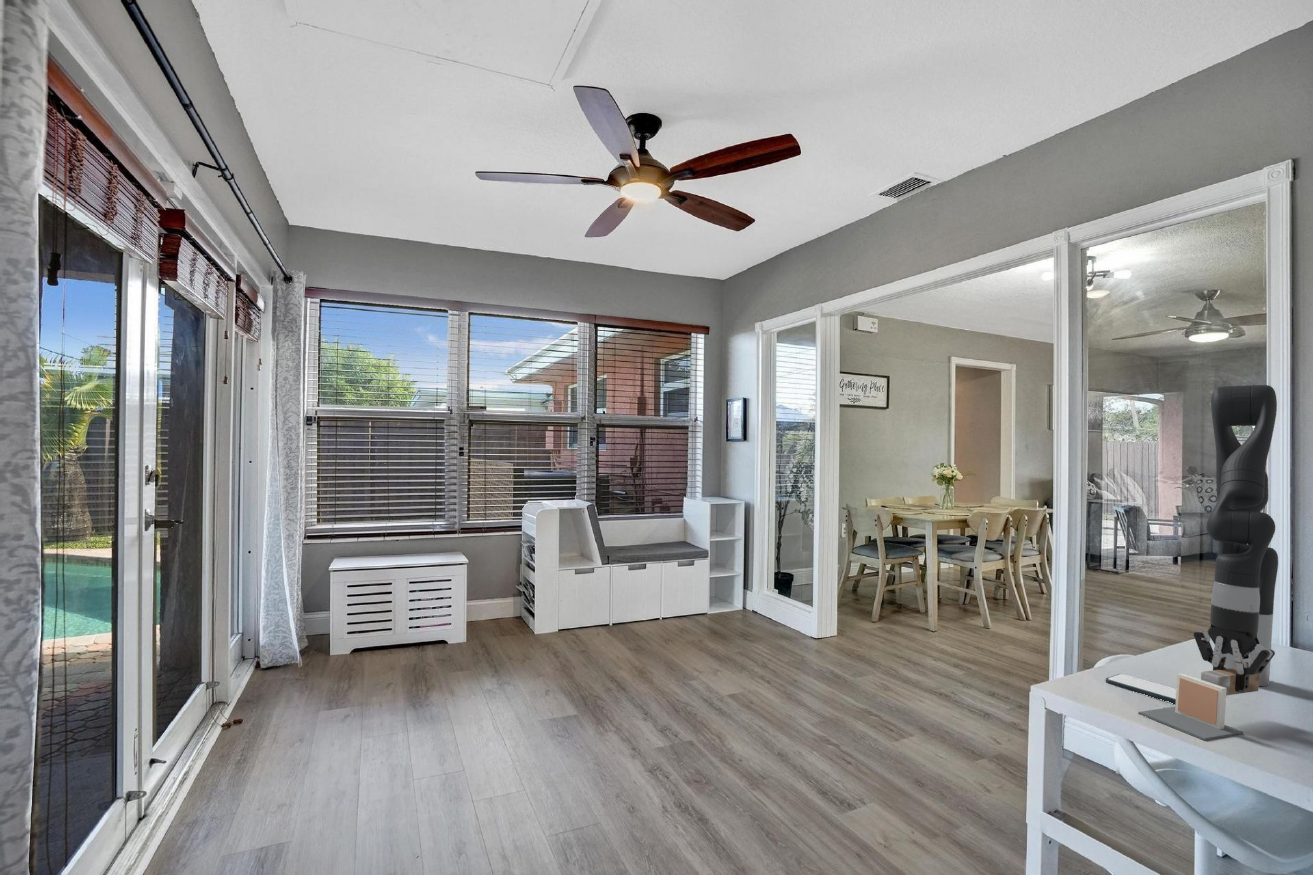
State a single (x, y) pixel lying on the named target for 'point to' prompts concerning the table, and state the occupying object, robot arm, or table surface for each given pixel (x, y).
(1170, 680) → the table surface
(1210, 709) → the tile
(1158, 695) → the phone case
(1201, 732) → the mat
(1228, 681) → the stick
